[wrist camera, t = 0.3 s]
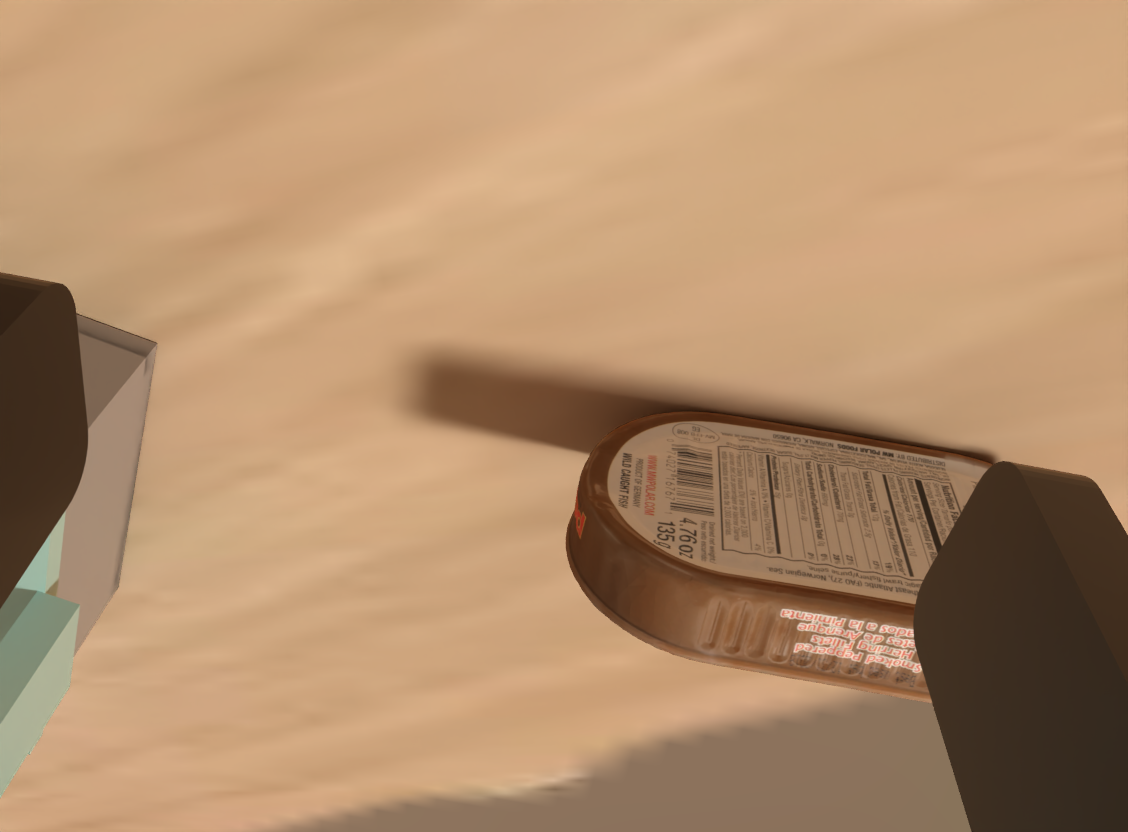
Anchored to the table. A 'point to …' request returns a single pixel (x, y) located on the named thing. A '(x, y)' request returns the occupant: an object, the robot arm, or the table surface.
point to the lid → (34, 655)
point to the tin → (767, 544)
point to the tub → (105, 467)
